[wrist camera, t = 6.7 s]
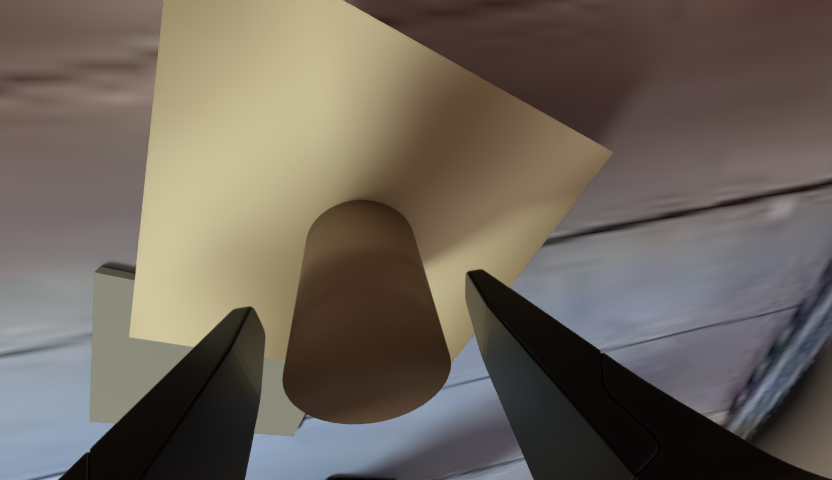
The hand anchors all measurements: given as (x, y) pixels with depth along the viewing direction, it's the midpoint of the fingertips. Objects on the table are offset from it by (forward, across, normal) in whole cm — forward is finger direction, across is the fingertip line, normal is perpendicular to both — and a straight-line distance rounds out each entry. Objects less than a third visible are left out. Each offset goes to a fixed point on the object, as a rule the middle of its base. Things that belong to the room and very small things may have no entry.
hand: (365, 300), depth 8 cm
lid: (+3, 0, 0) cm, 3 cm away
